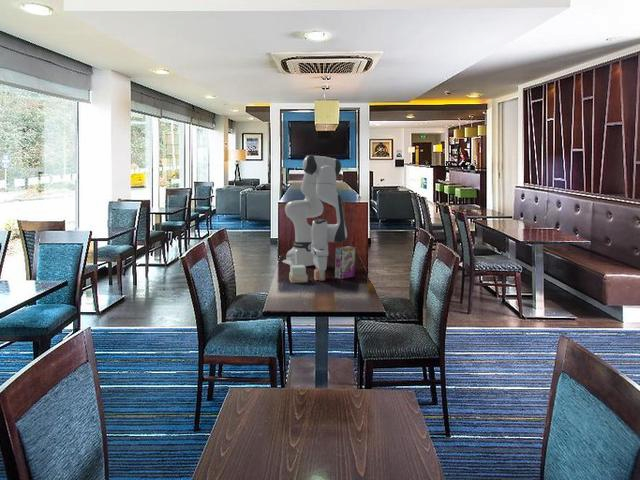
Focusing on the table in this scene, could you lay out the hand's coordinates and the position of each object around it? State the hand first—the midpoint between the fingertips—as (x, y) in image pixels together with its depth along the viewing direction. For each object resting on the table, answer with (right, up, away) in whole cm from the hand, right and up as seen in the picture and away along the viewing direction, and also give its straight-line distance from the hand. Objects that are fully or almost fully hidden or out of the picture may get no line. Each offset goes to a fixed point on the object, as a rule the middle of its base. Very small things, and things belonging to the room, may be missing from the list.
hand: (319, 275), depth 298 cm
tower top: (-11, +1, -4) cm, 12 cm away
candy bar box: (+14, -2, +5) cm, 15 cm away
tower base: (-11, -3, -3) cm, 12 cm away
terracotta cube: (0, -2, 0) cm, 2 cm away
